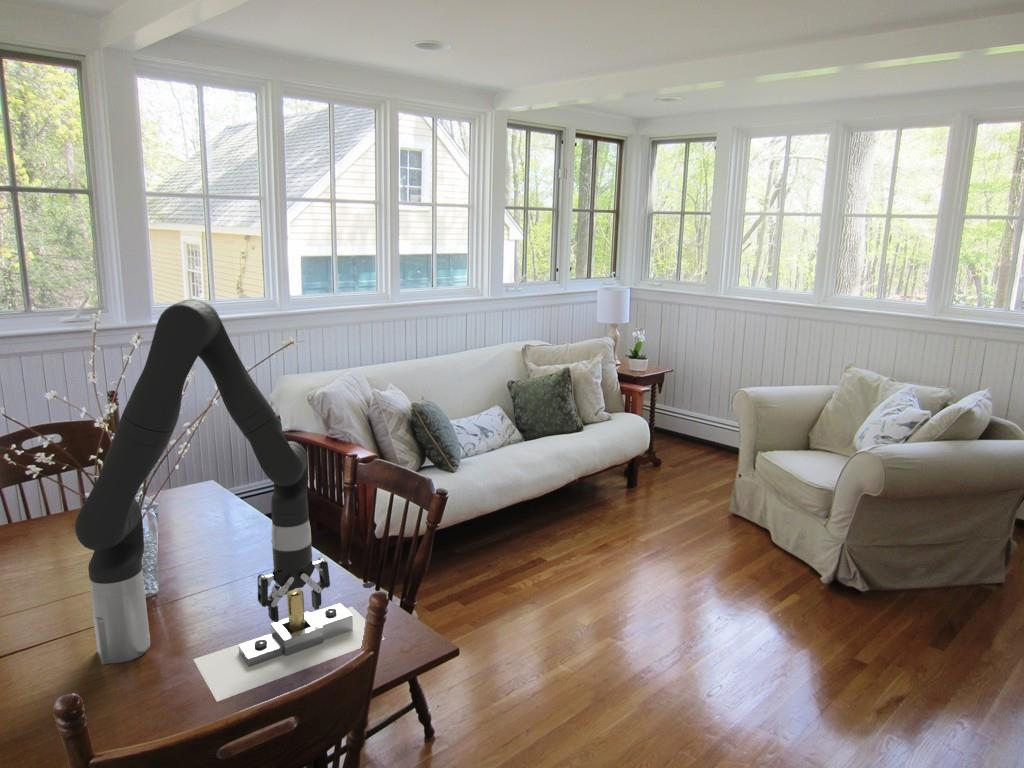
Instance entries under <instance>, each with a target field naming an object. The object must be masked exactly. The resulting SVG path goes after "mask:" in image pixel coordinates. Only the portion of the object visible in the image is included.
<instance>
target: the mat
mask: <svg viewBox="0 0 1024 768" xmlns="http://www.w3.org/2000/svg"><path fill="white" fill-rule="evenodd" d="M345 608H346V609H347V610H348V611H349V612H350V613H351V614H352V618H353V630H352V631H349V632H346V633H344V634H341V635H338V636H335V637H332V638H329V639H327V640H324V641H323V643H322V644H319V645H316V646H314V647H311V648H308V649H305V650H302V651H299V652H297V653H294V654H291V655H288V656H285V655H281V656H279V657H276V658H273V659H270V660H267V661H265V662H262V663H259V664H256V665H253V666H250V667H248V665H247V664H246V662H245V661H244V659H243V658H242V656H241V655H240V653H239V646H238V645H239V644H242V643H245V642H248V641H251V640H254V639H257V638H260V637H263V636H266V635H269V634H272V632H271V633H268V634H265V635H263V636H262V635H261V636H259V637H256V638H253V639H250V640H246V641H244V642H241V643H237V644H235V645H233V646H229V647H226V648H223V649H220V650H217V651H215V652H211V653H208V654H205V655H202V656H200V657H196V658H194V659H193V660H192V661H193V663H194V664H195V665H196V668H197V669H198V671H199V673H200V674H201V676H202V678H203V680H204V681H205V683H206V685H207V687H208V688H209V691H210V692H211V694H212V695H213V698H214V699H215V702H216V703H218V702H221V701H223V700H226V699H228V698H231V697H234V696H237V695H240V694H242V693H244V692H247V691H250V690H253V689H255V688H258V687H260V686H263V685H267V684H269V683H272V682H274V681H277V680H280V679H281V678H282V679H283V678H285V677H288V676H290V675H293V674H295V673H298V672H301V671H304V670H306V669H310V668H312V667H315V666H318V665H319V664H322V663H325V662H328V661H332V660H333V659H336V658H338V657H341V656H344V655H347V654H349V653H352V652H354V651H357V649H358V650H360V649H362V648H361V646H362V640H363V635H364V627H365V620H366V619H365V617H363V616H362V615H361V614H360V613H359V612H358V611H357V610H356V609H355V608H354V607H353V606H349V607H345ZM384 640H386V638H385V637H384V636H383V639H382V641H384Z"/></svg>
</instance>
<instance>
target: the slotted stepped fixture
mask: <svg viewBox="0 0 1024 768" xmlns="http://www.w3.org/2000/svg"><path fill="white" fill-rule="evenodd" d="M346 608H347V607H345V606H344V605H343V604H342V603H341V602H339V603H336V604H333V605H331V606H326V607H325V608H321V609H317V610H315V611H312V612H310V611H304V614H305V629H304V630H301V631H298V632H295V633H292V634H289V619H288V617H287V618H283V619H281V620H280V619H279V622H277V623H275V622H274V621H273V622H271V623H270V628H271V629H270V631H271V633H272V634H271V633H268V634H269V635H268V634H265V635H266V636H265V635H263V637H262V636H259V637H260V638H259V637H256V638H257V639H256V638H253V639H254V640H253V639H250V640H251V641H250V640H247V641H248V642H247V641H244V642H245V643H244V642H241V643H242V644H241V643H238V644H239V645H238V644H237V645H238V646H239V653H240V655H241V656H242V658H243V659H244V661H245V662H246V664H247V665H248V667H250V666H253V665H256V664H259V663H262V662H265V661H267V660H270V659H273V658H276V657H279V656H281V655H285V656H288V655H291V654H294V653H297V652H299V651H302V650H305V649H308V648H311V647H314V646H316V645H319V644H322V643H323V641H324V640H327V639H329V638H332V637H335V636H338V635H341V634H344V633H346V632H349V631H352V630H353V618H352V614H351V613H350V612H349V611H348V610H347V609H346Z"/></svg>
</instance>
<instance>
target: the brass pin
mask: <svg viewBox="0 0 1024 768" xmlns="http://www.w3.org/2000/svg"><path fill="white" fill-rule="evenodd" d="M304 598H305V597H304V591H303V590H302V589H301V588H296V589H294V590H292V591H289V592H288V593H287V594H286V600H287V601H286V602H287V603H286V604H287V615H288V616H287V618H288V619H289V634H292V633H295V632H298V631H301V630H304V629H305V614H304V613H305V601H304V600H305V599H304Z"/></svg>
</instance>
